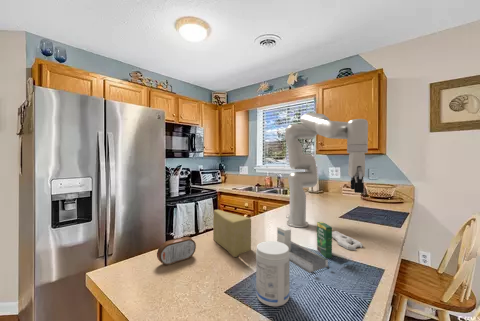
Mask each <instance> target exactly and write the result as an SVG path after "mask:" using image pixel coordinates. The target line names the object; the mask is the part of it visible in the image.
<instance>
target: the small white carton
mask: <svg viewBox="0 0 480 321" xmlns="http://www.w3.org/2000/svg"><path fill="white" fill-rule="evenodd" d="M276 228H277V231H276V235H277V237H276V239H277V240H276V241H277V242H281V243H284V244H285V245H287V246H288V248H289V251H291V241H292V240H291V239H292V229H290V228H288V227H286V226H283V225H281V226H277V227H276Z"/></svg>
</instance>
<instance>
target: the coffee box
mask: <svg viewBox="0 0 480 321" xmlns="http://www.w3.org/2000/svg"><path fill="white" fill-rule="evenodd" d="M332 231H333V227H332V226H331V225H329V224H327V223H326V222H323V221H317V222H316V246H317V247H316V249H317V251H318V252H319V253H320V254H321V256H322V257H324V258H326V259H330V258H331V259H332V258H333V237H332Z"/></svg>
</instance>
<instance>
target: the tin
mask: <svg viewBox="0 0 480 321" xmlns="http://www.w3.org/2000/svg"><path fill="white" fill-rule="evenodd" d="M196 249H197V244H196V242H195V240H194V239H193V238H192V237H190V236H184V237H180V238H179V237H178V238H175V239H170V240H167V241H165V242H163V243H162V244H161V245H160V246H159V247H158V248H157V252H156V257H157V260H159V262H160V263H161V264H163V265H166V266H169V265H172V264H175V263H179V262H182V261H184V260H188V259H190V258H192V256H193V255H194V254H195V252H196Z"/></svg>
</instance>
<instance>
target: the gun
mask: <svg viewBox="0 0 480 321" xmlns="http://www.w3.org/2000/svg"><path fill="white" fill-rule="evenodd" d="M332 239H334V240H336V241H337V245H338V246H340V247H343V248H344V249H346V250H348V251H354V252H355V251H357V248H360V249H363V245H364V244H363V242H360V241H359V240H357V239H355V238H353V237H350V236H349V235H345V234H344V233H341V232H339V231H338V230H334V231H333V230H332Z"/></svg>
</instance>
